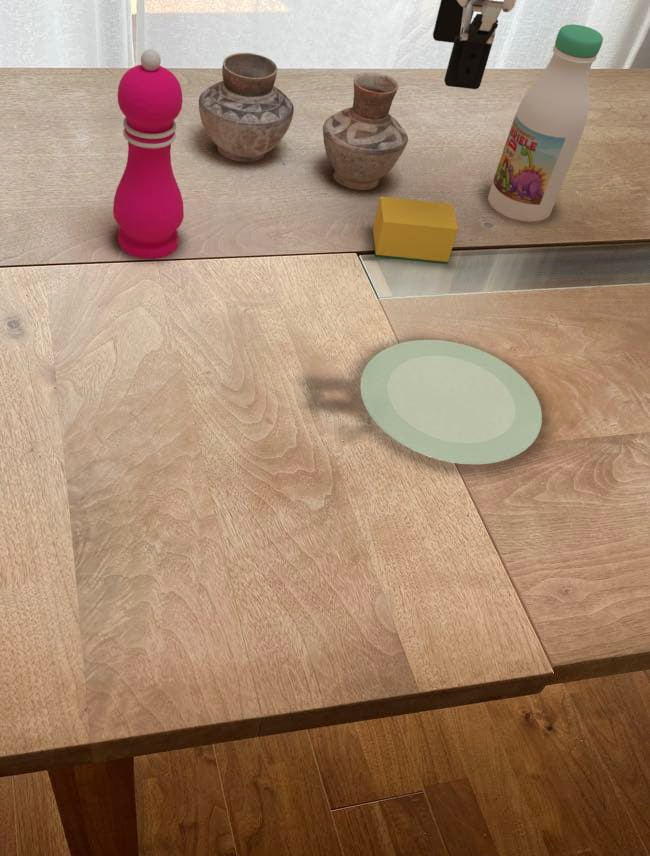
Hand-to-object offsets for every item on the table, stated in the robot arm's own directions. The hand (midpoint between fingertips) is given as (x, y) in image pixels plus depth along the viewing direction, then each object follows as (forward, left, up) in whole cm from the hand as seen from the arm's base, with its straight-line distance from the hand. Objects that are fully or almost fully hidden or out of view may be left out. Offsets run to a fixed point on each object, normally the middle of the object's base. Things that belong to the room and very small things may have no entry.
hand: (454, 62), depth 83 cm
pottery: (+12, -16, -20) cm, 29 cm away
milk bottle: (-15, -12, -20) cm, 28 cm away
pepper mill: (+28, +4, -20) cm, 35 cm away
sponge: (0, 0, -20) cm, 20 cm away
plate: (-2, +25, -20) cm, 32 cm away
